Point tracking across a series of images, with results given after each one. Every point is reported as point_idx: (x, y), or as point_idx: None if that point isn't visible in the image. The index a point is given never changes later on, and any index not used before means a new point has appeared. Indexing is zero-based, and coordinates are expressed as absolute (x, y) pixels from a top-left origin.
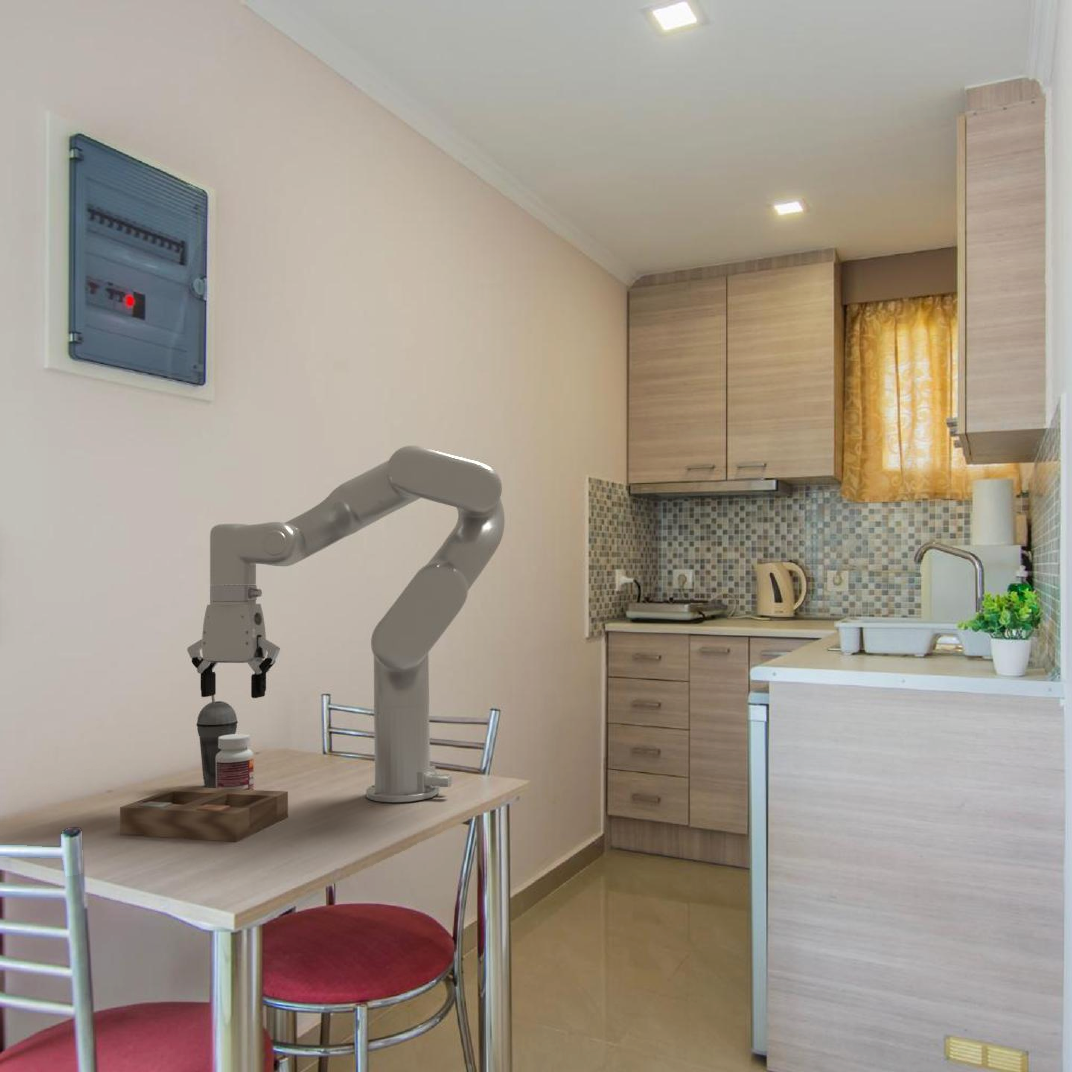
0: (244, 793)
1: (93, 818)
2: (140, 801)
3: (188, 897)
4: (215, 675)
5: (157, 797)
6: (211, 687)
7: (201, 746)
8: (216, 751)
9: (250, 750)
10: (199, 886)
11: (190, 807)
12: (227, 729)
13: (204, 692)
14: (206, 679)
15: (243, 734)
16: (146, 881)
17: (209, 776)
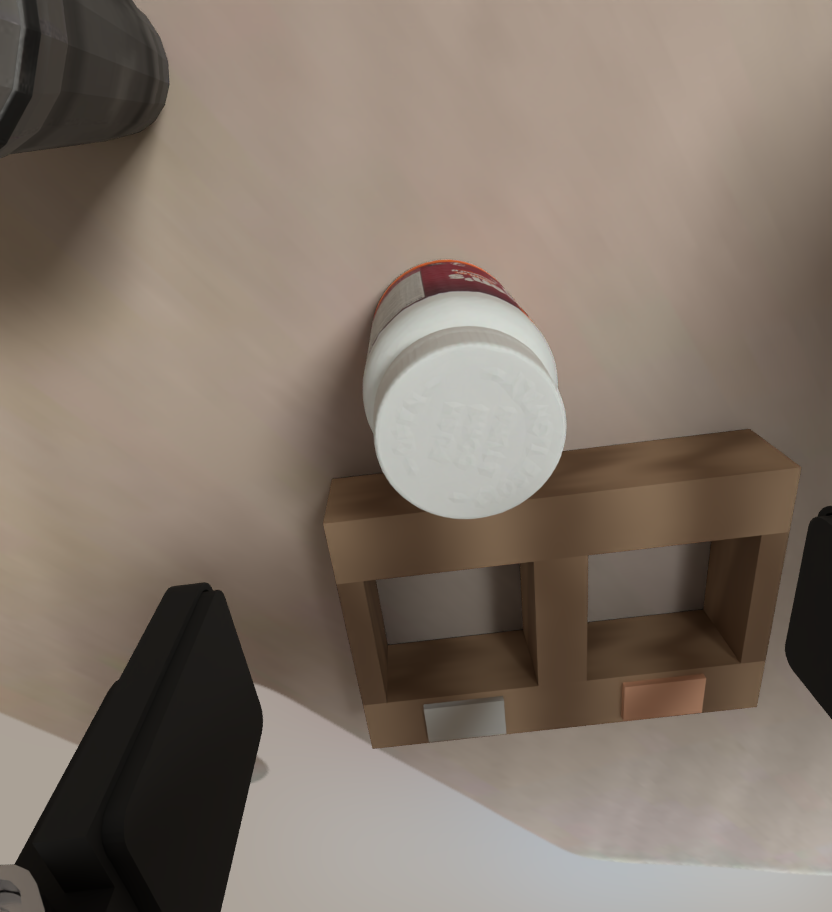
0: (647, 535)
1: (148, 612)
2: (374, 697)
3: (798, 862)
4: (139, 787)
5: (375, 644)
6: (219, 711)
7: None
8: (78, 124)
9: (532, 346)
10: (790, 832)
11: (581, 700)
12: (49, 46)
13: (250, 756)
14: (218, 888)
15: (485, 362)
16: (678, 841)
17: (101, 140)
